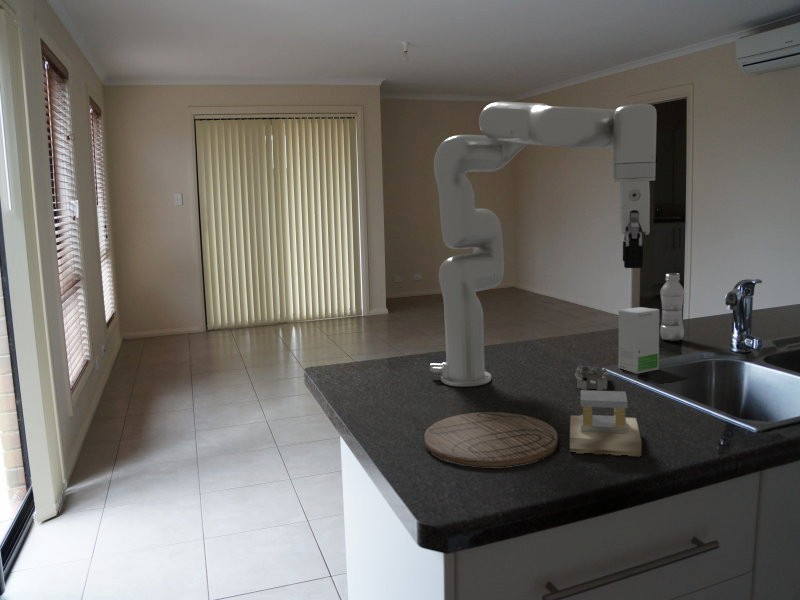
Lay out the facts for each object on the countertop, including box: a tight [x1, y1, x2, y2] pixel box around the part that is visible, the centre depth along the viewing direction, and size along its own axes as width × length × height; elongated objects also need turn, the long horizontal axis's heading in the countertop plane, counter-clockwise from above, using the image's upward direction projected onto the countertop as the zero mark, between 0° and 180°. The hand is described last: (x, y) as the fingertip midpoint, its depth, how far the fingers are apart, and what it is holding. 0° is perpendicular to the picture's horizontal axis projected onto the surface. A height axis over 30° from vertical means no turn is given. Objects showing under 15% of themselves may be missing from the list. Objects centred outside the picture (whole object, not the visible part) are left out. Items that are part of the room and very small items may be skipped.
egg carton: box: [574, 364, 610, 391], centre depth 159 cm, size 11×8×4 cm
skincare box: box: [617, 306, 660, 375], centre depth 168 cm, size 8×7×16 cm
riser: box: [569, 414, 642, 457], centre depth 122 cm, size 12×12×3 cm
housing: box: [580, 389, 628, 434], centre depth 121 cm, size 6×8×6 cm
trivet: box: [423, 411, 558, 467], centre depth 126 cm, size 25×25×2 cm
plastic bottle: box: [659, 272, 685, 342], centre depth 196 cm, size 6×7×20 cm
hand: (632, 264), depth 127 cm, fingers open, 9 cm apart
